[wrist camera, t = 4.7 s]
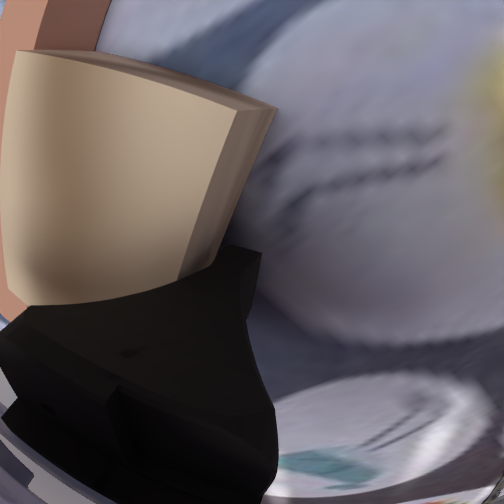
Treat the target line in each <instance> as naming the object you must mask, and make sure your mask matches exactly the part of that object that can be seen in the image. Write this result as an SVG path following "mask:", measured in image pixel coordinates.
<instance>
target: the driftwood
mask: <svg viewBox="0 0 504 504" xmlns="http://www.w3.org/2000/svg"><path fill="white" fill-rule="evenodd" d="M503 488H504V476H503V477H502V479H501V481H500V482H499V483H498V485H497V486H496V488H495V489H494V490H493V492H492V493H491V495H490V496H489V497H488V499H487V501H486V502H484V503H483V504H504V495H503V496H500V497H498V496H499V494H500V493H501V492H500V491H501V490H502V489H503Z"/></svg>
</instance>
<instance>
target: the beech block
mask: <svg viewBox="0 0 504 504" xmlns="http://www.w3.org/2000/svg"><path fill="white" fill-rule="evenodd" d="M276 111H277V108H276V107H273V106H271V105H269V104H266V103H264V102H261V101H259V100H256V99H254V98H251V97H249V96H246V95H244V94H241V93H238V92H236V91H233V90H230V89H228V88H225V87H222V86H219V85H217V84H214V83H211V82H208V81H205V80H202V79H199V78H196V77H193V76H190V75H187V74H184V73H180V72H177V71H174V70H170V69H167V68H164V67H160V66H156V65H153V64H149V63H145V62H142V61H138V60H134V59H130V58H126V57H121V56H117V55H113V54H108V53H103V52H95V51H78V50H16V54H15V59H14V63H13V68H12V73H11V78H10V83H9V88H8V94H7V101H6V108H5V115H4V124H3V134H2V146H1V164H0V214H1V232H2V244H3V255H4V263H5V271H6V278H7V285H8V289H9V290H10V291H11V292H12V293H14V294H15V295H16V296H17V297H18V298H19V299H20V300H22V301H23V302H24V303H25V304H26V305H28V306H30V305H64V304H79V303H87V302H96V301H102V300H108V299H114V298H118V297H123V296H127V295H131V294H136V293H140V292H144V291H148V290H151V289H154V288H157V287H160V286H164V285H166V284H169V283H172V282H175V281H177V280H180V279H182V278H184V277H186V276H189V275H191V274H193V273H195V272H198V271H200V270H202V269H204V268H206V267H208V266H210V265H211V264H212V262H213V261H214V259H215V257H216V254H217V252H218V249H219V247H220V244H221V242H222V239H223V237H224V234H225V232H226V229H227V227H228V224H229V222H230V219H231V217H232V215H233V212H234V210H235V207H236V205H237V202H238V200H239V197H240V195H241V193H242V190H243V188H244V185H245V183H246V181H247V178H248V176H249V173H250V171H251V169H252V166H253V164H254V162H255V159H256V157H257V155H258V152H259V150H260V148H261V145H262V143H263V141H264V138H265V136H266V134H267V131H268V129H269V127H270V124H271V122H272V120H273V118H274V115H275V113H276Z"/></svg>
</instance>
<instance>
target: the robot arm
mask: <svg viewBox="0 0 504 504" xmlns="http://www.w3.org/2000/svg"><path fill="white" fill-rule="evenodd" d="M261 256H262V253H260V252H257V251H253V250H249V249H245V248H242V247H238V246H234V245H230V246H228V247H226V248H225V249H223V250H222V251H221V252H220V253H219V254H218V256H217V257H216V258H215V259H214V261H213V262H212V264H211V265H210V266H208V267H206V268H204V269H202V270H200V271H198V272H195V273H193V274H191V275H189V276H186V277H184V278H182V279H180V280H177V281H175V282H172V283H169V284H166V285H164V286H160V287H157V288H154V289H151V290H148V291H144V292H140V293H136V294H131V295H127V296H123V297H118V298H114V299H108V300H102V301H96V302H87V303H79V304H64V305H30V306H29V307H28V308H27V309H26V310H24V311H23V312H22V313H21V314H20V315H18V316H17V317H16V318H15V319H14V320H13V321H12V322H10V323H9V324H8V325H7V326H6V327H5V328H4V329H2V330H1V331H0V367H1V369H2V371H3V373H4V375H5V377H6V378H7V380H8V382H9V384H10V385H11V387H12V389H13V391H14V392H15V394H16V395H17V397H18V398H17V399H16V400H15V401H14V403H13V404H12V405H11V406H10V407H9V408H8V409H7V408H6V407H5V406H4V405H3V404H2V403H0V434H2V435H3V436H4V437H5V438H6V439H7V440H8V441H9V442H10V443H12V444H13V445H14V446H15V447H16V448H17V449H19V450H20V451H21V452H22V453H24V454H25V455H26V456H27V457H28V458H30V459H31V460H32V461H33V462H35V463H36V464H38V465H39V466H40V467H41V468H43V469H44V470H46V471H47V472H48V473H49V474H51V475H52V476H54V477H55V478H57V479H58V480H59V481H61V482H62V483H64V484H65V485H67V486H68V487H70V488H72V489H73V490H74V491H76V492H78V493H79V494H81V495H82V496H84V497H86V498H87V499H89V500H91V501H93V502H94V503H96V504H260V503H261V500H262V497H263V495H264V493H265V492H266V491H267V489H268V488H269V487H270V485H271V484H272V482H273V481H274V479H275V477H276V474H277V468H278V459H279V448H278V433H277V424H276V416H275V408H274V406H273V404H272V402H271V399H270V397H269V395H268V393H267V391H266V388H265V386H264V384H263V381H262V379H261V376H260V373H259V370H258V368H257V365H256V362H255V358H254V355H253V351H252V347H251V344H250V340H249V335H248V330H247V325H246V319H247V316H248V314H249V311H250V309H251V306H252V301H253V296H254V291H255V286H256V281H257V276H258V271H259V266H260V261H261ZM33 478H34V474H33V473H32V472H31V471H30V470H29V469H28V468H27V467H26V466H25V465H24V464H22V463H21V462H20V461H19V460H18V459H17V458H16V457H15V456H14V455H13V454H12V452H10V450H9V449H8V448H7V447H6V446H5V445H4V443H3V442H2V441H1V440H0V504H47V503H46V502H45V501H43V500H42V499H41V498H39V497H38V496H37V495H35V494H34V493H33V492H31V491H30V490H29V489H28V485H29V483H30V482H31V480H32V479H33Z"/></svg>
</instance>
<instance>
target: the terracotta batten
mask: <svg viewBox="0 0 504 504" xmlns="http://www.w3.org/2000/svg"><path fill="white" fill-rule="evenodd" d="M110 1H111V0H6V3H5V6H4V9H3V12H2V16H1V19H0V164H1V146H2V134H3V124H4V115H5V108H6V101H7V94H8V88H9V83H10V78H11V73H12V68H13V63H14V59H15V54H16V50H78V51H94V50H95V46H96V43H97V39H98V36H99V33H100V30H101V27H102V24H103V21H104V18H105V15H106V12H107V9H108V7H109V4H110ZM28 307H29V306H28V305H26V304H25V303H24V302H23V301H22V300H20V299H19V298H18V297H17V296H16V295H15V294H14V293H12V292H11V291H10V290H9V289H8V285H7V278H6V271H5V263H4V255H3V244H2V232H1V214H0V313H1V314H2V315H3V316H4V317H5V318H6V319H7V320H8V321H9V322H12V321H13V320H14V319H15V318H16V317H17V316H18V315H20V314H21V313H22V312H23V311H24V310H26V309H27V308H28Z"/></svg>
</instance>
